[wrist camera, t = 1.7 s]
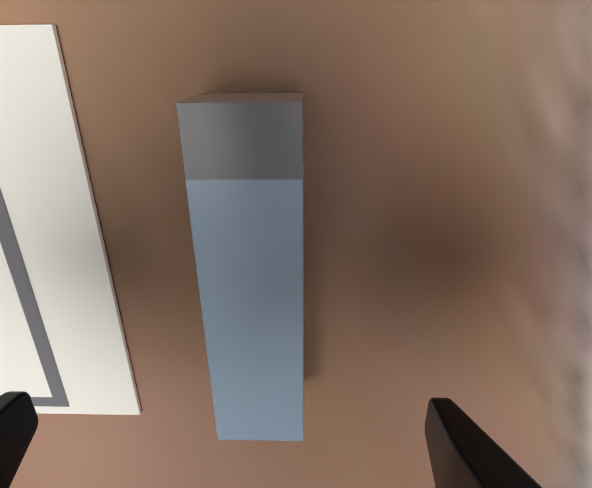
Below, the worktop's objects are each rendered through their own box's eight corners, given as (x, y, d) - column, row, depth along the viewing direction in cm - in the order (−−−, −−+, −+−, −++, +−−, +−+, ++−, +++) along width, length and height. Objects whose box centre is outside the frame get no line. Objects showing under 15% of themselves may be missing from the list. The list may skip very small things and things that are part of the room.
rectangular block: (303, 379, 18) (302, 440, 15) (232, 378, 18) (217, 439, 15) (303, 92, 13) (301, 101, 10) (204, 92, 13) (175, 103, 10)
